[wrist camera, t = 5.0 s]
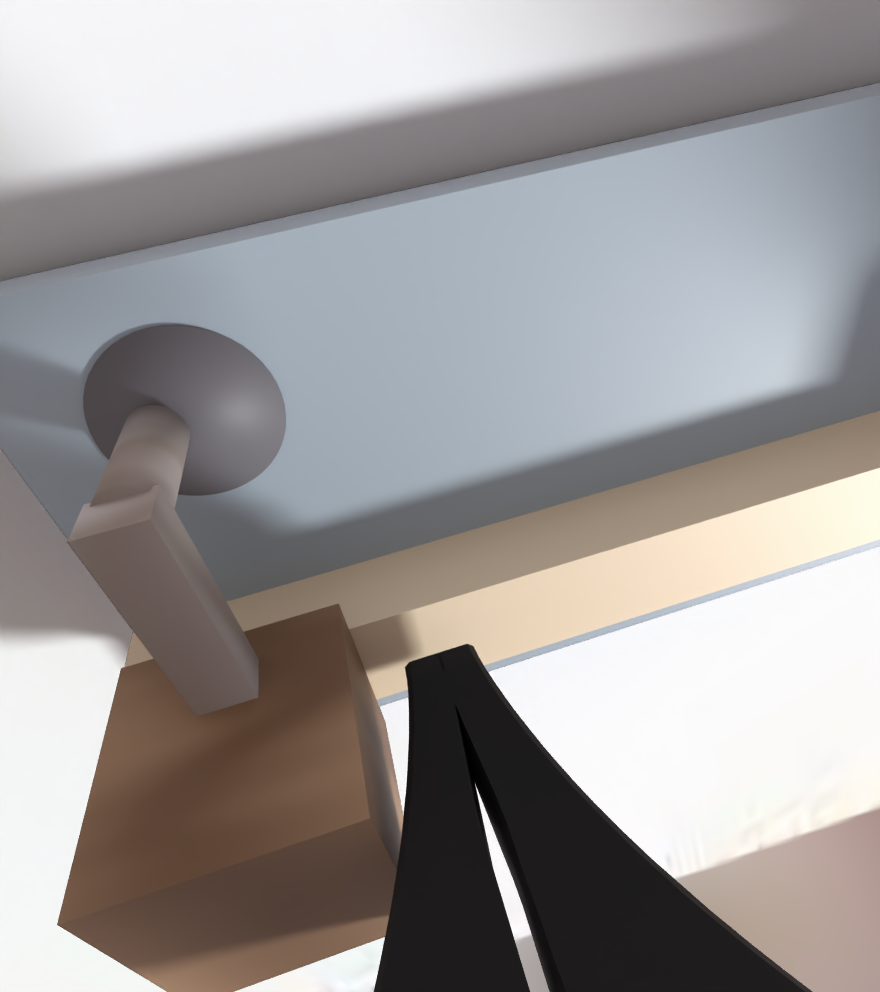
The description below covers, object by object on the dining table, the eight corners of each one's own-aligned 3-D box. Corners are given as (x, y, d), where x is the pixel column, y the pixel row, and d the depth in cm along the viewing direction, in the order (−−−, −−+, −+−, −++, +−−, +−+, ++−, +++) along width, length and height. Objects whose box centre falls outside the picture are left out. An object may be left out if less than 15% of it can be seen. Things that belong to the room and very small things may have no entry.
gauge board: (1190, 12, 12) (1738, -37, 7) (961, 487, 19) (1169, 603, 14) (-58, 294, 9) (-348, 474, 5) (229, 716, 16) (216, 939, 12)
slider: (265, 375, 10) (266, 616, 5) (374, 668, 14) (423, 922, 10) (17, 438, 9) (-215, 760, 5) (215, 717, 14) (192, 1006, 10)
